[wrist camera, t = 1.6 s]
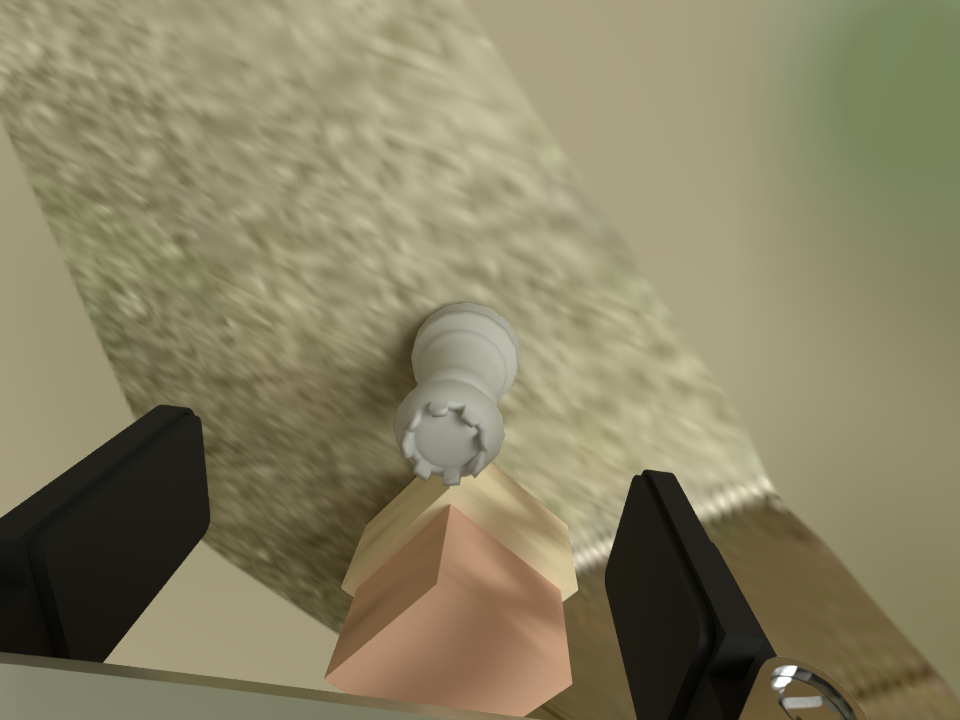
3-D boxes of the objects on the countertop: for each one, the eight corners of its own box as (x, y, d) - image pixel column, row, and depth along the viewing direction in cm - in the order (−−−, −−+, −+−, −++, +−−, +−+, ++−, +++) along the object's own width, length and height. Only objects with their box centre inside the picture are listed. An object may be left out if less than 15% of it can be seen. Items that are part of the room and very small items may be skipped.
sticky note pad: (567, 525, 24) (593, 684, 17) (470, 602, 26) (455, 775, 19) (459, 436, 23) (434, 565, 15) (365, 525, 25) (303, 678, 17)
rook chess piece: (413, 393, 22) (365, 507, 15) (416, 295, 20) (363, 365, 13) (514, 402, 22) (517, 521, 14) (525, 304, 20) (534, 380, 13)
